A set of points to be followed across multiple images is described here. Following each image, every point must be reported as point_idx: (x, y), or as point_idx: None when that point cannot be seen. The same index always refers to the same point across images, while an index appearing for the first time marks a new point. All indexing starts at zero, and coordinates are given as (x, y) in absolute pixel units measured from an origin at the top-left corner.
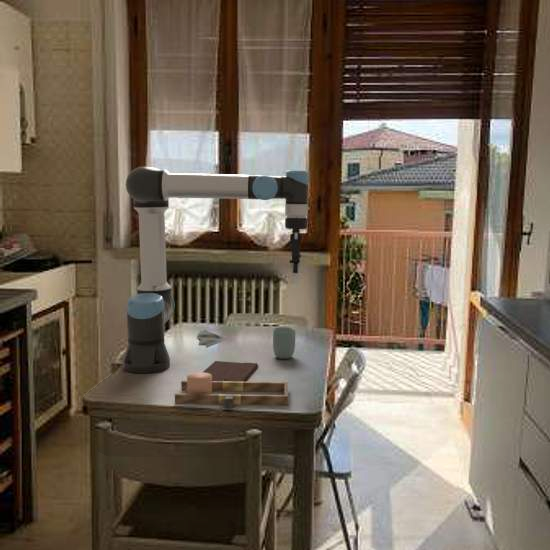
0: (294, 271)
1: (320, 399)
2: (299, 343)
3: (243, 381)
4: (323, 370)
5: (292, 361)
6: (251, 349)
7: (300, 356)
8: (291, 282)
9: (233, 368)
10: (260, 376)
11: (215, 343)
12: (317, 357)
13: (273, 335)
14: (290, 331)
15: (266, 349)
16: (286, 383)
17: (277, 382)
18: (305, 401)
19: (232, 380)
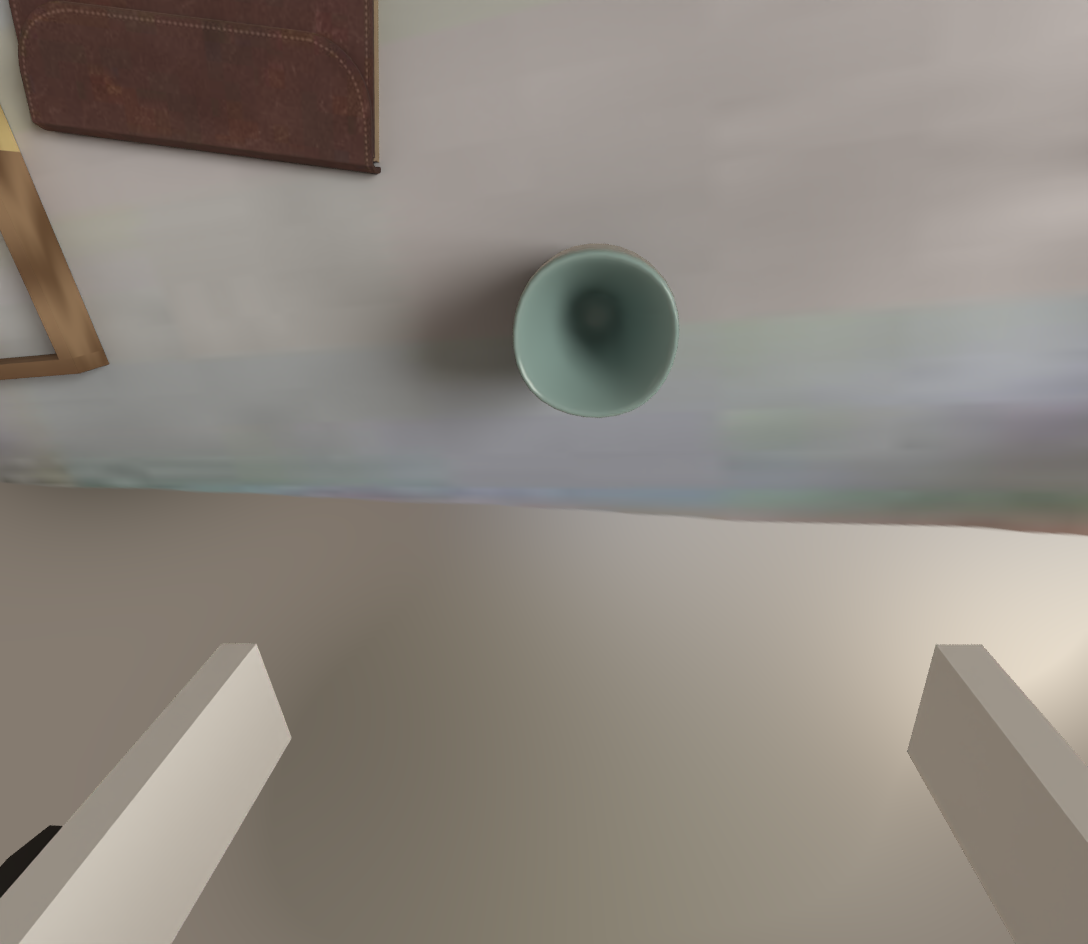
0: (17, 876)
1: (78, 486)
2: (912, 378)
3: (84, 134)
4: (416, 501)
5: None
6: (774, 52)
7: None
8: (224, 651)
9: (223, 21)
10: (239, 212)
11: None
12: (617, 477)
13: (557, 254)
14: (640, 377)
15: (773, 172)
16: (62, 368)
17: (52, 327)
18: (32, 436)
19: (32, 67)
